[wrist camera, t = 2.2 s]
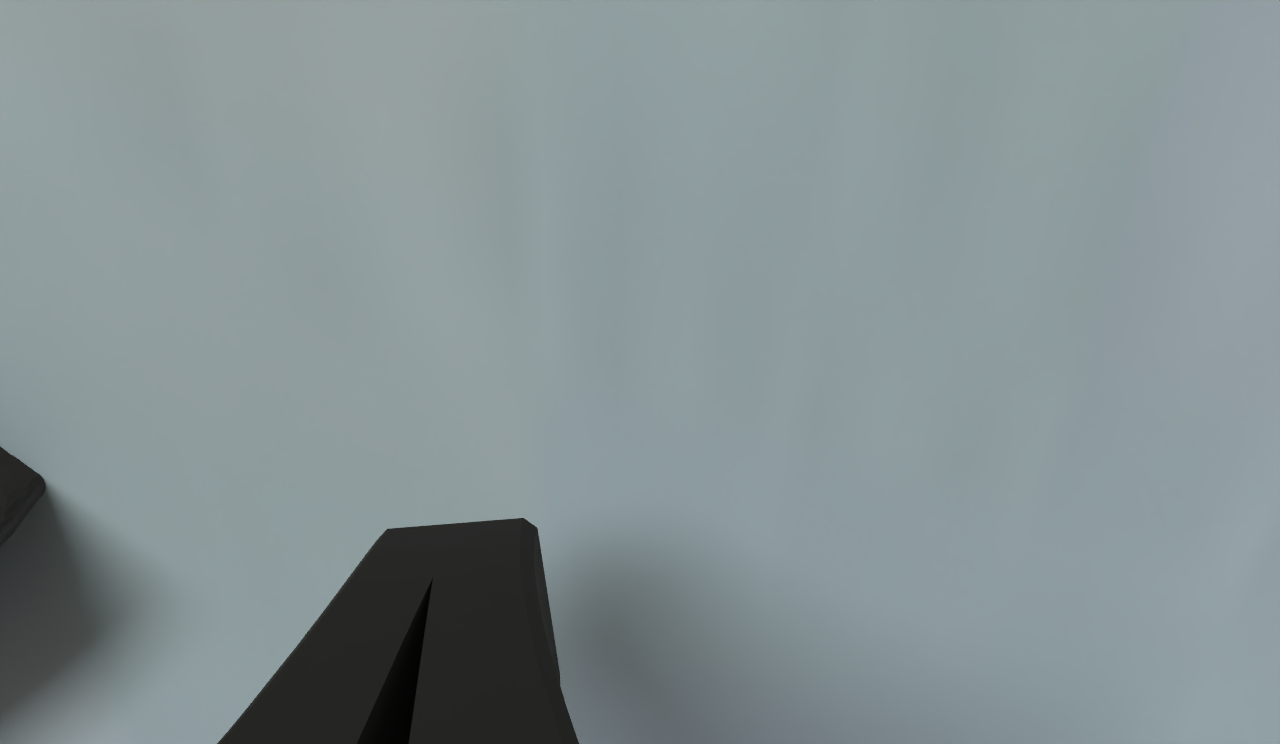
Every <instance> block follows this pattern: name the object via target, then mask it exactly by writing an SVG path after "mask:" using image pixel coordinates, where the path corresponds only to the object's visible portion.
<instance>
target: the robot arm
mask: <svg viewBox="0 0 1280 744" xmlns="http://www.w3.org/2000/svg"><path fill="white" fill-rule="evenodd" d="M217 744H579V742H578V740H577V737H576V734H575V731H574V728H573V725H572V722H571V719H570V716H569V713H568V710H567V707H566V704H565V701H564V697H563V694H562V691H561V687H560V672H559V666H558V659H557V653H556V646H555V640H554V633H553V627H552V620H551V614H550V607H549V601H548V594H547V588H546V581H545V575H544V568H543V562H542V555H541V549H540V542H539V536H538V529H537V527H535V526H534V525H532V524H531V523H530V522H528V521H527V520H525V519H524V518H518V519H506V520H493V521H481V522H468V523H456V524H443V525H431V526H418V527H406V528H393V529H387V530H386V531H385V532H384V533H383V534H382V535H381V536H380V537H379V539H378V540H377V541H376V542H375V543H374V545H373V546H372V547H371V549H370V550H369V551H368V553H367V554H366V555H365V557H364V558H363V559H362V561H361V562H360V563H359V565H358V566H357V567H356V569H355V570H354V571H353V573H352V574H351V575H350V577H349V578H348V579H347V581H346V582H345V583H344V585H343V586H342V588H341V589H340V590H339V592H338V593H337V594H336V596H335V597H334V598H333V600H332V601H331V602H330V604H329V605H328V606H327V608H326V609H325V610H324V611H323V613H322V614H321V615H320V617H319V618H318V619H317V621H316V622H315V623H314V625H313V626H312V627H311V628H310V630H309V631H308V632H307V634H306V635H305V636H304V638H303V639H302V640H301V642H300V643H299V644H298V645H297V647H296V648H295V649H294V650H293V652H292V653H291V654H290V655H289V657H288V658H287V659H286V660H285V662H284V663H283V664H282V665H281V667H280V668H279V669H278V670H277V672H276V673H275V674H274V675H273V677H272V678H271V679H270V680H269V682H268V683H267V684H266V685H265V687H264V688H263V689H262V690H261V692H260V693H259V694H258V695H257V697H256V698H255V699H254V700H253V702H252V703H251V704H250V705H249V707H248V708H247V709H246V710H245V712H244V713H243V714H242V715H241V716H240V718H239V719H238V720H237V721H236V722H235V724H234V725H233V726H232V727H231V728H230V730H229V731H228V732H227V733H226V734H225V735H224V737H223V738H222V739H221V740H220V741H219V742H218V743H217Z"/></svg>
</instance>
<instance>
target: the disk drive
mask: <svg viewBox="0 0 1280 744" xmlns="http://www.w3.org/2000/svg"><path fill="white" fill-rule="evenodd" d="M44 490H45V483H44V479H43V478H42V477H41V476H40V475H39V474H38V473H36V472H35V471H34V470H32V469H31V468H29V467H28V466H27V465H25V464H24V463H23V462H21V461H20V460H19V459H17V458H16V457H14V456H12V455H10V454H9V453H8V452H7V451H5V450H4V449H3V448H1V447H0V547H1V546H2V545H3V543H4V542H5V541H6V540H7V539H8V538H9V537H10V536H11V535H12V534H13V532H14V531H15V530H16V528H17V527H18V526H19V524H20V523H21V521H22V520H23V519H24V517H25V516H26V515H27V513H28V512H29V510H30V509H31V508H32V506H33V505H34V504H35V503H36V501H37V500H38V499H39V498H40V497H41V496H42V494H43V493H44Z"/></svg>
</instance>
